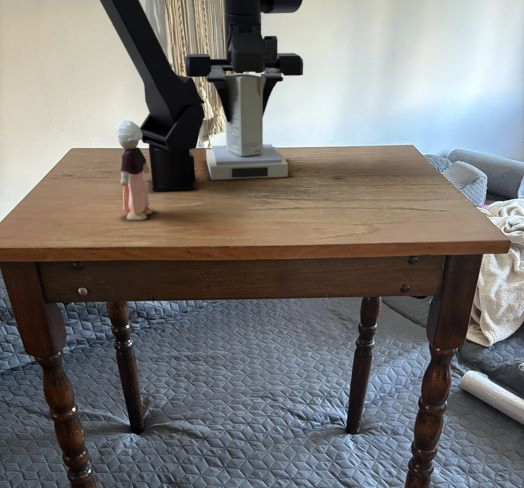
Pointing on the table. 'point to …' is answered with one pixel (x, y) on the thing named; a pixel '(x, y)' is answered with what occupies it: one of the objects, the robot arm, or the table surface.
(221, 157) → the scale
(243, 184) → the table surface
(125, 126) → the grandmother figurine
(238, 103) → the cosmetic box
